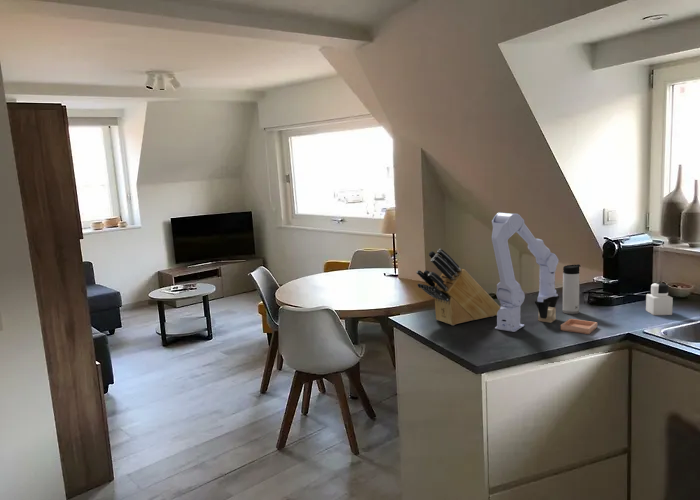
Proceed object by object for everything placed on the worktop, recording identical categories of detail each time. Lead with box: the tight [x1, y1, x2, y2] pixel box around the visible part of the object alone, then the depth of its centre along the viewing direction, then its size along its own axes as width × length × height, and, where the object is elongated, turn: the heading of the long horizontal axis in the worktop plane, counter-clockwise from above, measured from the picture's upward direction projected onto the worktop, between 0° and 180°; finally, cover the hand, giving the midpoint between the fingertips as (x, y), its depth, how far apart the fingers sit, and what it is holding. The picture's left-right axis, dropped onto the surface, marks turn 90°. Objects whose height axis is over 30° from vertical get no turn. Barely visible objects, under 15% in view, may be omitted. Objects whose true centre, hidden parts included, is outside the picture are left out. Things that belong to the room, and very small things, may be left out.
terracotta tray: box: [560, 318, 598, 335], centre depth 203 cm, size 10×10×2 cm
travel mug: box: [562, 264, 581, 315], centre depth 224 cm, size 6×7×20 cm
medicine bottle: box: [645, 282, 674, 316], centre depth 217 cm, size 7×7×12 cm
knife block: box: [415, 248, 501, 326], centre depth 220 cm, size 11×35×31 cm, turn 117°
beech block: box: [537, 307, 557, 323], centre depth 216 cm, size 5×5×5 cm
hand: (547, 315), depth 216 cm, fingers open, 7 cm apart
